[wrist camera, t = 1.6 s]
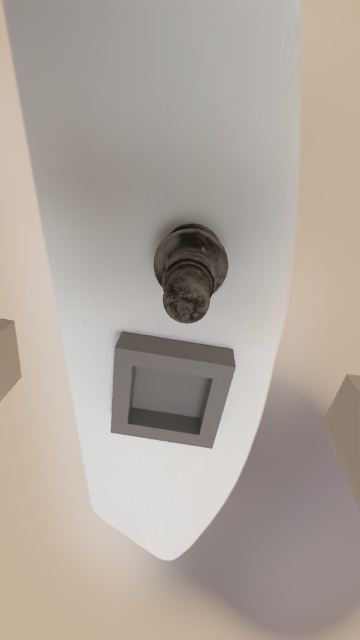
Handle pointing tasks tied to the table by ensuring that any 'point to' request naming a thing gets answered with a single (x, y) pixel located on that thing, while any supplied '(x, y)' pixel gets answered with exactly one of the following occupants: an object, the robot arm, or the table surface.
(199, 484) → the table surface
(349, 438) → the robot arm
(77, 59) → the table surface
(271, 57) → the table surface
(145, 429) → the grey square tray
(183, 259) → the dark grey tall piece
